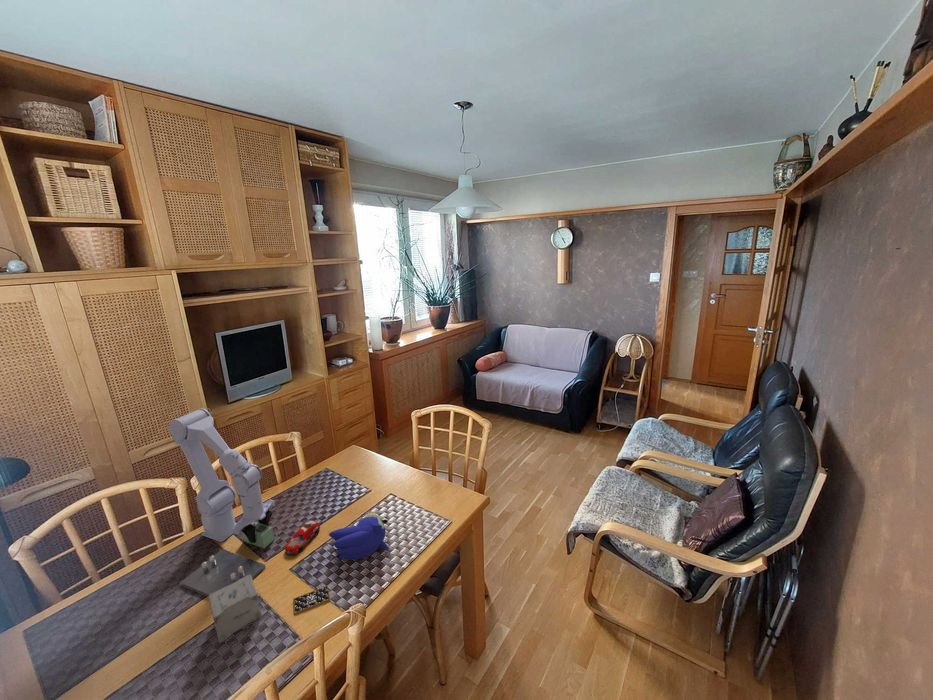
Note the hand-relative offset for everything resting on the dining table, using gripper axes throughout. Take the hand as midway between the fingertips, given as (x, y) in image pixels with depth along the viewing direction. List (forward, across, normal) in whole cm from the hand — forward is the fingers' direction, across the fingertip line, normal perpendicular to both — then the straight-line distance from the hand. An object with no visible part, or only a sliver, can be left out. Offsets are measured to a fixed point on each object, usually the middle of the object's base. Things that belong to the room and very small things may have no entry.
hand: (258, 536), depth 122 cm
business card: (+2, -12, -32) cm, 34 cm away
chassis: (+1, -14, -2) cm, 14 cm away
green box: (+2, 0, 0) cm, 2 cm away
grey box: (+2, -23, -19) cm, 30 cm away
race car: (+2, +5, -14) cm, 15 cm away
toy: (+2, +9, -35) cm, 36 cm away
